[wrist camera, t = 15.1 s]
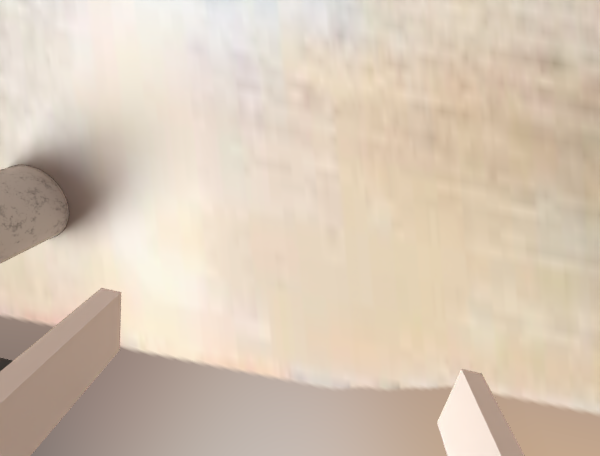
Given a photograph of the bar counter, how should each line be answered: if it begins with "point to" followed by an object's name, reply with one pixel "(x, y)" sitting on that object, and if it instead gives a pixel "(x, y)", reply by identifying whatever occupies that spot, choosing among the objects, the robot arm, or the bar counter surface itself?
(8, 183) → the gray concrete cylinder
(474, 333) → the bar counter surface
